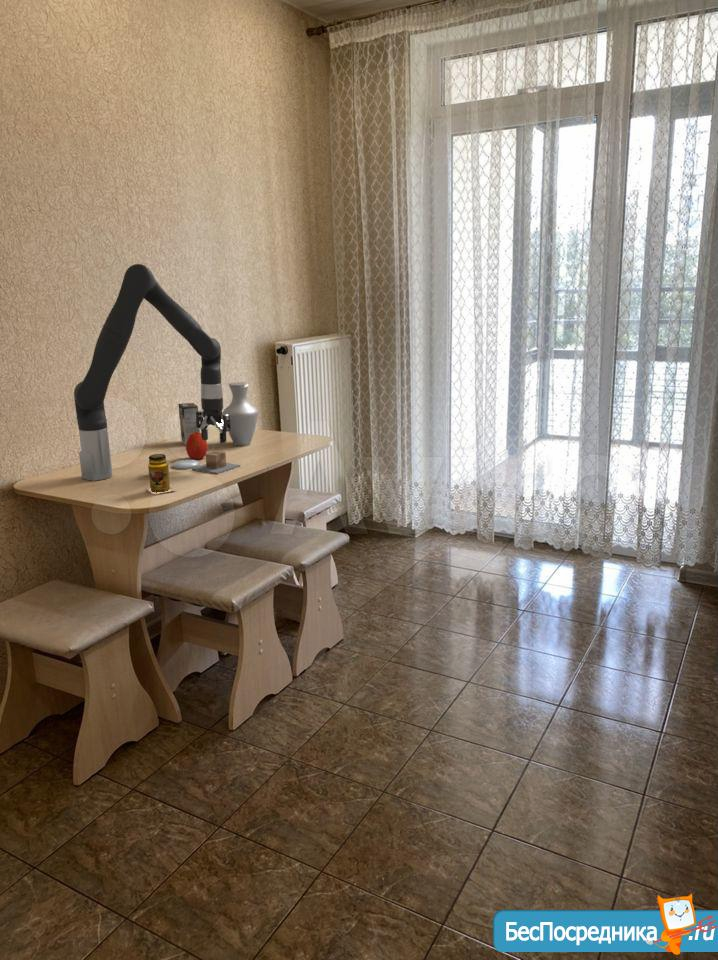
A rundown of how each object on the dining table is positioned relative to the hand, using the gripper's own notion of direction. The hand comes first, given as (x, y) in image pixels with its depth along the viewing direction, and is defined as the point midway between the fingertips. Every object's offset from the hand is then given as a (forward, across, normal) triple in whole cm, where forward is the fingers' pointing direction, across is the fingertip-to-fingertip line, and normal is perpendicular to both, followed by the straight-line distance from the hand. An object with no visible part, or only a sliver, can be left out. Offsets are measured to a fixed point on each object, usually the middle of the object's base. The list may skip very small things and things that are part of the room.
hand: (214, 441), depth 254 cm
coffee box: (+10, -37, +25) cm, 46 cm away
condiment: (+11, +3, -29) cm, 31 cm away
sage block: (+10, -11, -16) cm, 22 cm away
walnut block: (+9, 0, 0) cm, 9 cm away
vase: (+10, -17, +34) cm, 40 cm away
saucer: (+10, -12, -2) cm, 16 cm away
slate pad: (+10, 0, +1) cm, 10 cm away
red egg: (+10, -16, +8) cm, 20 cm away
